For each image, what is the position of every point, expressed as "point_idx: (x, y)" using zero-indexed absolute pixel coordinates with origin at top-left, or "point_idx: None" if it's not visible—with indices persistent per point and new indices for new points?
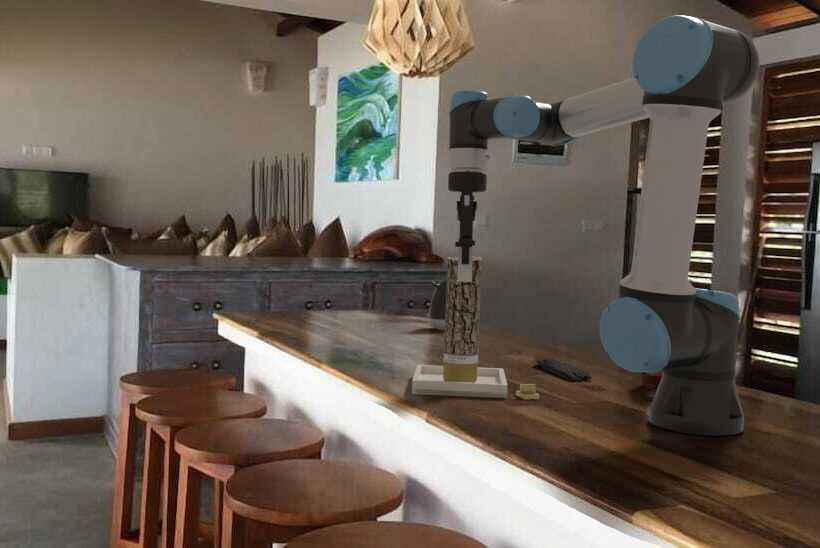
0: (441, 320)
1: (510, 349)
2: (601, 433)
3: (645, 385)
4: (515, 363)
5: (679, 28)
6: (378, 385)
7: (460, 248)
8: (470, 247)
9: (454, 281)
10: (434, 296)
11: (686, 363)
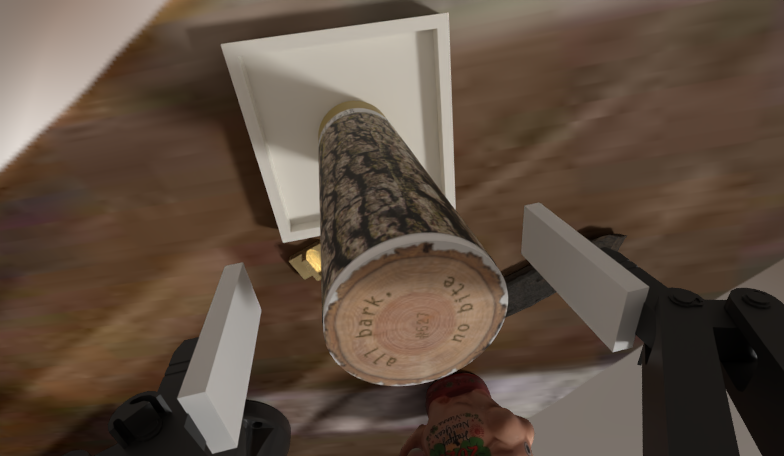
0: None
1: (778, 164)
2: (115, 368)
3: (444, 379)
4: (623, 195)
5: None
6: None
7: (185, 400)
8: (607, 339)
9: (324, 230)
10: None
11: None
